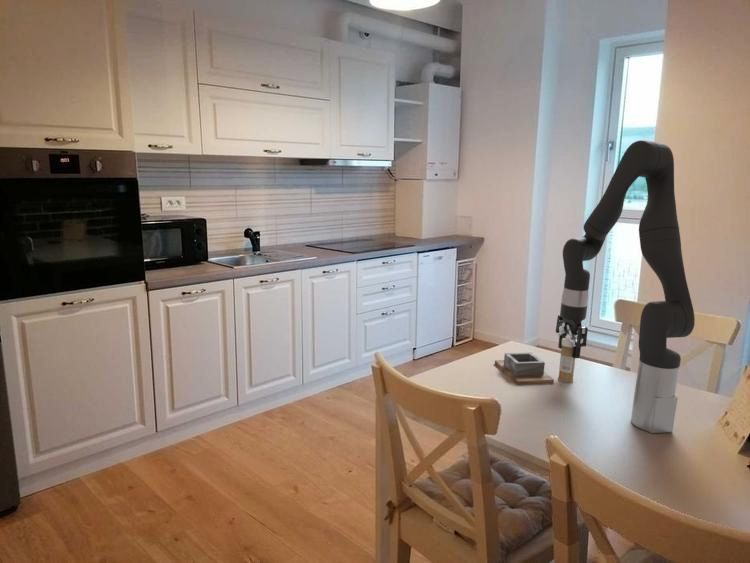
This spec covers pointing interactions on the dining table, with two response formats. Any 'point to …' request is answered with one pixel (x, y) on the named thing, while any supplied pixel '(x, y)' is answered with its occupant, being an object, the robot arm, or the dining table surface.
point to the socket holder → (524, 368)
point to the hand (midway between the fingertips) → (568, 352)
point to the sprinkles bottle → (566, 361)
